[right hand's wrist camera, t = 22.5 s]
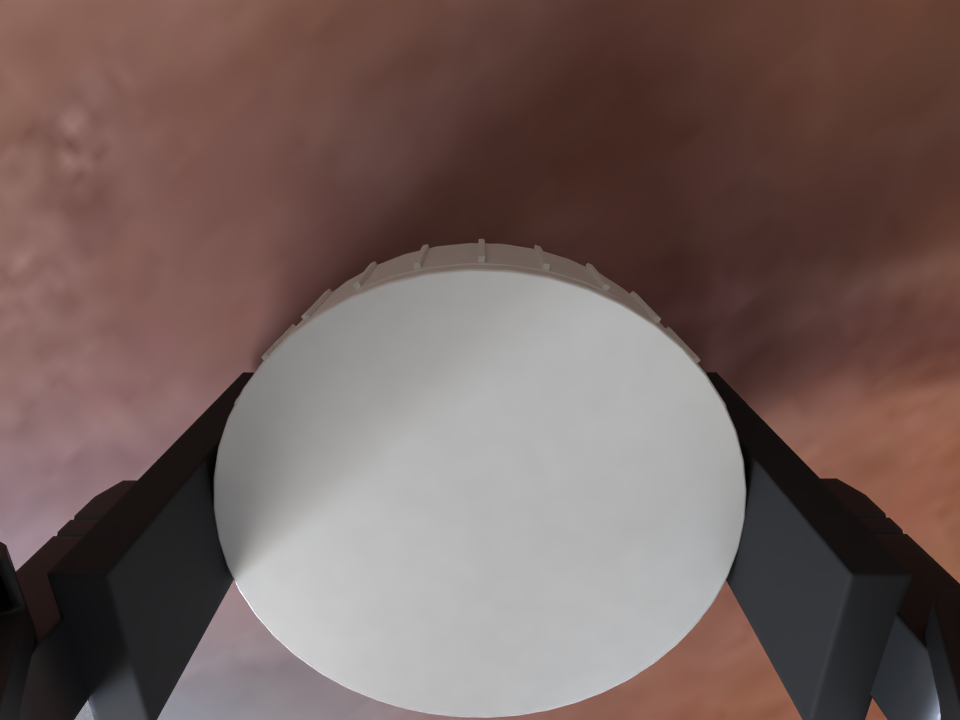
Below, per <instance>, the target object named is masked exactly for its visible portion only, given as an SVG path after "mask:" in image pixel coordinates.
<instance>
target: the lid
mask: <svg viewBox="0 0 960 720" xmlns="http://www.w3.org/2000/svg"><path fill="white" fill-rule="evenodd" d="M301 317H302V319H303V320H302V321H301V322H300V323H299V324H298V325H297V326H295V325H294V324H292V325H291V326H290V327H289V328H288V330H287V331H286V332H285V333H284V334H283V335H282V336H281V337H280V338H279V339H278V340H277V341H276V342H275V343H274V344H273V345H272V346H271V347H270V348H269V349H268V350H267V351H266V352H265V353H264V354H263V356H262V357H261V358H262V359H263V360H264V361H263V362H262V364H261V365H260V366H259V368H258V369H257V370H256V372H255V373H254V375H253V376H252V377H251V379H250V380H249V381H248V383H247V384H246V386H245V387H244V388H243V390H242V392H241V394H240V396H239V397H238V398H237V399H236V401H235V403H234V404H235V406H234V407H233V409H232V411H231V413H230V415H229V417H228V420H227V423H226V426H225V429H224V432H223V435H222V438H221V441H220V444H219V447H218V453H217V460H216V466H215V472H214V514H215V520H216V526H217V531H218V536H219V541H220V544H221V548H222V551H223V554H224V557H225V560H226V563H227V566H228V568H229V570H230V572H231V574H232V576H233V578H234V580H235V582H236V584H237V586H238V589H239V591H240V592H241V594H242V595H243V597H244V598H245V600H246V601H247V603H248V604H249V606H250V607H251V609H252V610H253V612H254V613H255V615H256V616H257V617H258V618H259V619H260V620H261V622H262V623H263V624H264V625H265V626H266V627H267V628H268V630H269V631H270V632H271V633H272V634H273V635H274V637H276V638H277V639H278V640H279V641H280V642H281V643H282V644H283V645H284V646H286V647H287V648H288V649H289V650H290V651H291V652H292V653H293V654H294V655H296V656H297V657H298V658H300V659H301V660H303V661H304V662H305V663H307V664H308V665H310V666H311V667H312V668H314V669H315V670H317V671H318V672H319V673H321V674H323V675H325V676H326V677H328V678H330V679H332V680H334V681H335V682H337V683H339V684H341V685H343V686H344V687H346V688H349V689H351V690H353V691H356V692H358V693H360V694H363V695H365V696H367V697H370V698H372V699H375V700H378V701H381V702H385V703H388V704H391V705H394V706H397V707H401V708H405V709H410V710H415V711H419V712H424V713H429V714H437V715H446V716H455V717H486V718H489V717H503V716H516V715H523V714H529V713H535V712H541V711H547V710H551V709H554V708H558V707H562V706H565V705H569V704H573V703H576V702H579V701H582V700H584V699H587V698H589V697H592V696H595V695H597V694H600V693H603V692H605V691H607V690H609V689H611V688H613V687H615V686H617V685H619V684H621V683H623V682H625V681H627V680H629V679H630V678H632V677H633V676H635V675H637V674H638V673H640V672H641V671H643V670H644V669H646V668H647V667H649V666H651V665H652V664H654V663H655V662H656V661H657V660H659V659H660V658H661V657H662V656H664V655H665V654H666V653H667V652H668V651H670V650H671V649H672V648H673V647H675V646H676V645H677V644H678V643H679V642H680V641H681V640H682V639H683V638H684V637H685V636H686V635H687V634H688V633H689V631H690V630H691V629H692V628H693V627H694V626H695V625H696V624H697V623H698V622H699V620H700V619H701V618H702V616H703V615H704V614H705V612H706V611H707V610H708V608H709V607H710V606H711V604H712V603H713V602H714V600H715V598H716V596H717V594H718V593H719V591H720V589H721V587H722V586H723V584H724V582H725V580H726V578H727V577H728V574H729V572H730V569H731V566H732V564H733V561H734V559H735V556H736V553H737V551H738V548H739V543H740V539H741V534H742V529H743V524H744V519H745V506H746V479H745V468H744V459H743V455H742V452H741V448H740V444H739V440H738V436H737V432H736V429H735V427H734V424H733V422H732V420H731V417H730V415H729V413H728V411H727V408H726V404H725V402H724V401H723V400H722V398H721V396H720V395H719V393H718V392H717V390H716V389H715V387H714V385H713V384H712V382H711V381H710V379H709V378H708V376H707V374H706V373H705V372H704V371H703V369H702V368H701V367H700V366H699V365H698V364H697V363H698V362H700V361H701V360H700V359H699V358H698V356H697V355H696V354H695V353H694V352H693V351H692V350H691V349H690V348H689V347H688V346H687V345H686V344H685V343H684V342H683V341H682V340H681V339H680V338H679V337H678V336H677V335H676V333H675V332H674V331H673V330H672V329H671V328H670V327H667V328H665V327H664V326H663V325H662V324H661V323H660V322H659V321H660V320H661V318H660V317H659V316H658V315H657V314H656V313H655V312H654V311H653V310H652V309H651V308H650V307H649V306H648V305H647V304H646V303H645V302H644V301H643V300H642V298H641V297H640V296H639V295H638V294H637V293H635V292H634V291H632V292H631V293H630V294H629V293H628V292H627V291H626V290H624V289H623V288H622V287H620V286H618V285H617V284H615V283H614V282H612V281H611V280H609V279H607V278H606V277H604V276H603V275H601V274H600V273H599V272H598V271H597V270H596V269H595V268H594V266H593V265H592V264H589V263H587V264H586V266H583V265H581V264H578V263H576V262H574V261H572V260H570V259H567V258H564V257H561V256H557V255H554V254H551V253H547V252H544V251H543V250H542V248H541V246H538V245H535V246H534V249H532V248H526V247H520V246H513V245H507V244H488V243H485V239H479V243H465V244H456V245H446V246H437V247H433V248H429V245H428V244H426V245H423V246H422V248H421V250H420V251H416V252H412V253H408V254H404V255H401V256H399V257H396V258H394V259H391V260H389V261H386V262H383V263H381V264H378V265H377V263H376V262H375V261H374V262H372V263H370V265H369V266H368V267H367V268H366V269H365V271H364V272H363V273H361V274H359V275H357V276H355V277H354V278H352V279H350V280H348V281H346V282H345V283H344V284H343V285H341V286H340V287H339V288H337V289H336V290H335V291H333V292H332V291H331V290H330V289H328V290H327V291H325V292H324V293H323V295H322V296H321V297H320V298H319V299H318V300H317V301H316V302H315V303H314V304H313V305H312V306H311V307H310V308H309V309H308V310H307V311H306V312H305V313H304V314H303V315H302V316H301Z"/></svg>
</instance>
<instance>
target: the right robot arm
mask: <svg viewBox="0 0 960 720" xmlns="http://www.w3.org/2000/svg"><path fill="white" fill-rule="evenodd" d="M706 374H707V376H708V378H709V379H710V381H711V382H712V384H713V385H714V387H715V389H716V390H717V392H718V393H719V395H720V396H721V398H722V400H723V401H724V402H725V404H726V408H727V411H728V413H729V415H730V417H731V420H732V422H733V424H734V427H735V429H736V432H737V436H738V440H739V444H740V448H741V452H742V455H743V459H744V468H745V479H746V506H745V519H744V524H743V529H742V534H741V539H740V543H739V548H738V551H737V553H736V556H735V559H734V561H733V564H732V566H731V569H730V572H729V574H728V577H727V578H726V581H727V582H728V584H729V586H730V588H731V590H732V592H733V593H734V595H735V597H736V599H737V601H738V602H739V604H740V606H741V608H742V610H743V612H744V613H745V615H746V617H747V619H748V621H749V623H750V624H751V626H752V628H753V630H754V632H755V633H756V635H757V637H758V639H759V641H760V643H761V644H762V646H763V648H764V650H765V652H766V654H767V655H768V657H769V659H770V661H771V663H772V664H773V666H774V668H775V670H776V672H777V674H778V675H779V677H780V679H781V681H782V683H783V685H784V686H785V688H786V690H787V692H788V694H789V695H790V697H791V699H792V701H793V703H794V705H795V706H796V708H797V710H798V712H799V714H800V716H801V717H802V719H803V720H865V718H866V715H867V712H868V709H869V706H870V703H871V700H872V698H873V699H874V700H875V702H876V703H877V705H878V706H879V708H880V709H881V711H882V712H883V713H884V715H885V716H886V718H887V719H888V720H960V584H959V583H958V582H957V581H956V580H955V579H954V578H953V577H952V576H951V575H950V574H949V573H948V572H946V571H945V570H944V569H943V568H942V567H941V566H940V565H939V564H938V563H937V562H936V561H935V560H934V559H933V558H932V557H931V556H930V555H928V554H927V553H926V552H925V551H924V550H923V549H922V548H921V547H920V546H919V545H918V544H917V543H916V542H915V541H914V540H913V539H912V538H910V537H909V536H908V535H907V534H903V532H902V529H901V528H900V527H899V526H898V525H897V524H896V523H895V522H894V521H892V520H891V519H890V518H886V516H885V515H886V514H885V513H884V512H883V511H882V510H881V509H880V508H879V507H878V506H877V505H876V504H874V503H873V502H872V501H871V500H870V499H869V498H868V497H867V496H866V495H865V494H863V493H861V492H859V491H858V490H856V489H854V488H852V487H851V486H849V485H847V484H845V483H844V482H842V481H840V480H838V479H820V478H819V477H818V476H817V475H816V474H815V473H814V472H813V471H812V470H811V469H810V468H809V467H808V466H807V465H806V464H805V463H804V462H803V461H802V460H801V459H800V458H799V457H798V456H797V455H796V454H795V453H794V452H793V451H792V450H791V449H790V448H789V446H788V445H787V444H786V443H785V442H784V441H783V440H782V439H781V438H780V437H779V436H778V435H777V434H776V433H775V432H774V431H773V430H772V429H771V428H770V427H769V426H768V425H767V424H766V423H765V422H764V421H763V420H762V419H761V418H760V417H759V416H758V415H757V414H756V413H755V412H754V411H753V410H752V409H751V408H750V407H749V406H748V405H747V404H746V402H745V401H744V400H743V399H742V398H741V397H740V396H739V395H738V394H737V393H736V392H735V391H734V390H733V389H732V388H731V387H730V386H729V385H728V384H727V383H726V382H725V381H724V380H723V379H722V378H721V377H720V376H719V375H718V374H717V373H706ZM253 375H254V373H242V374H241V375H240V376H239V377H238V378H237V379H236V380H235V382H234V383H233V384H232V385H231V386H230V387H229V388H228V389H227V390H226V391H225V392H224V393H223V394H222V395H221V396H220V397H219V398H218V399H217V400H216V401H215V402H214V403H213V404H212V405H211V406H210V407H209V408H208V409H207V410H206V411H205V412H204V413H203V414H202V415H201V416H200V417H199V418H198V419H197V420H196V421H195V422H194V423H193V424H192V426H191V427H190V428H189V429H188V430H187V431H186V432H185V433H184V434H183V435H182V436H181V437H180V438H179V439H178V440H177V441H176V442H175V443H174V444H173V445H172V446H171V447H170V448H169V449H168V450H167V451H166V452H165V453H164V454H163V455H162V456H161V457H160V458H159V459H158V460H157V461H156V462H155V463H154V464H153V465H152V466H151V467H150V468H149V469H148V471H147V472H146V473H145V474H144V475H143V476H142V477H141V478H140V479H139V480H138V481H122V482H120V483H118V484H116V485H115V486H113V487H111V488H109V489H108V490H106V491H104V492H102V493H101V494H99V495H97V496H95V497H94V498H93V499H92V500H91V501H90V502H89V503H88V504H87V505H86V506H85V507H84V508H83V509H81V510H80V511H79V512H78V513H77V514H76V515H75V518H74V520H70V521H69V522H68V523H67V524H66V525H65V526H64V527H63V528H61V529H60V530H59V531H58V535H57V536H53V537H52V538H51V539H50V540H49V541H48V542H47V543H46V544H45V545H44V546H43V547H42V548H40V549H39V550H38V551H37V552H36V553H35V554H34V555H33V556H32V557H31V558H30V559H29V560H28V561H27V562H26V563H25V564H24V565H23V566H22V567H20V568H19V569H18V570H17V571H16V572H15V569H14V566H13V563H12V560H11V557H10V555H9V552H8V549H7V546H6V545H5V544H3V543H2V542H0V720H74V719H75V717H76V716H77V715H78V713H79V712H80V710H81V709H82V707H83V706H84V704H85V703H86V702H87V700H88V701H89V704H90V707H91V710H92V713H93V716H94V720H157V718H158V717H159V715H160V713H161V711H162V709H163V707H164V706H165V704H166V702H167V700H168V698H169V696H170V695H171V693H172V691H173V689H174V687H175V686H176V684H177V682H178V680H179V678H180V676H181V675H182V673H183V671H184V669H185V667H186V665H187V664H188V662H189V660H190V658H191V656H192V655H193V653H194V651H195V649H196V647H197V645H198V644H199V642H200V640H201V638H202V636H203V634H204V633H205V631H206V629H207V627H208V625H209V624H210V622H211V620H212V618H213V616H214V614H215V613H216V611H217V609H218V607H219V605H220V603H221V602H222V600H223V598H224V596H225V594H226V593H227V591H228V589H229V587H230V585H231V583H232V582H233V580H234V578H233V576H232V574H231V572H230V570H229V568H228V566H227V563H226V560H225V557H224V554H223V551H222V548H221V544H220V541H219V536H218V531H217V526H216V520H215V514H214V472H215V466H216V460H217V453H218V447H219V444H220V441H221V438H222V435H223V432H224V429H225V426H226V423H227V420H228V417H229V415H230V413H231V411H232V409H233V407H234V406H235V404H234V403H235V401H236V399H237V398H238V397H239V396H240V394H241V392H242V390H243V388H244V387H245V386H246V384H247V383H248V381H249V380H250V379H251V377H252V376H253Z"/></svg>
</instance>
